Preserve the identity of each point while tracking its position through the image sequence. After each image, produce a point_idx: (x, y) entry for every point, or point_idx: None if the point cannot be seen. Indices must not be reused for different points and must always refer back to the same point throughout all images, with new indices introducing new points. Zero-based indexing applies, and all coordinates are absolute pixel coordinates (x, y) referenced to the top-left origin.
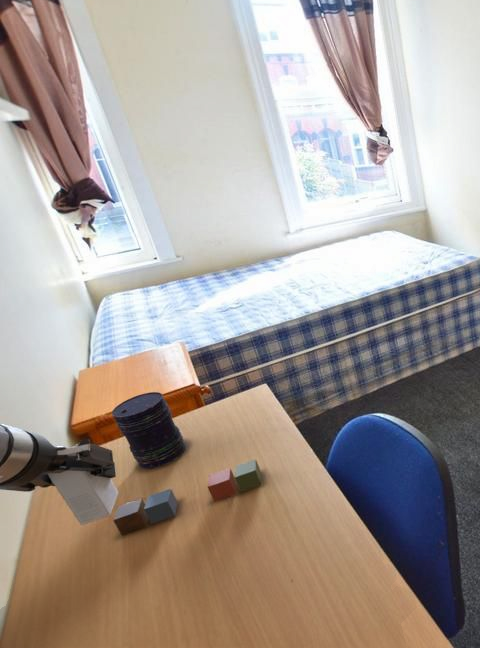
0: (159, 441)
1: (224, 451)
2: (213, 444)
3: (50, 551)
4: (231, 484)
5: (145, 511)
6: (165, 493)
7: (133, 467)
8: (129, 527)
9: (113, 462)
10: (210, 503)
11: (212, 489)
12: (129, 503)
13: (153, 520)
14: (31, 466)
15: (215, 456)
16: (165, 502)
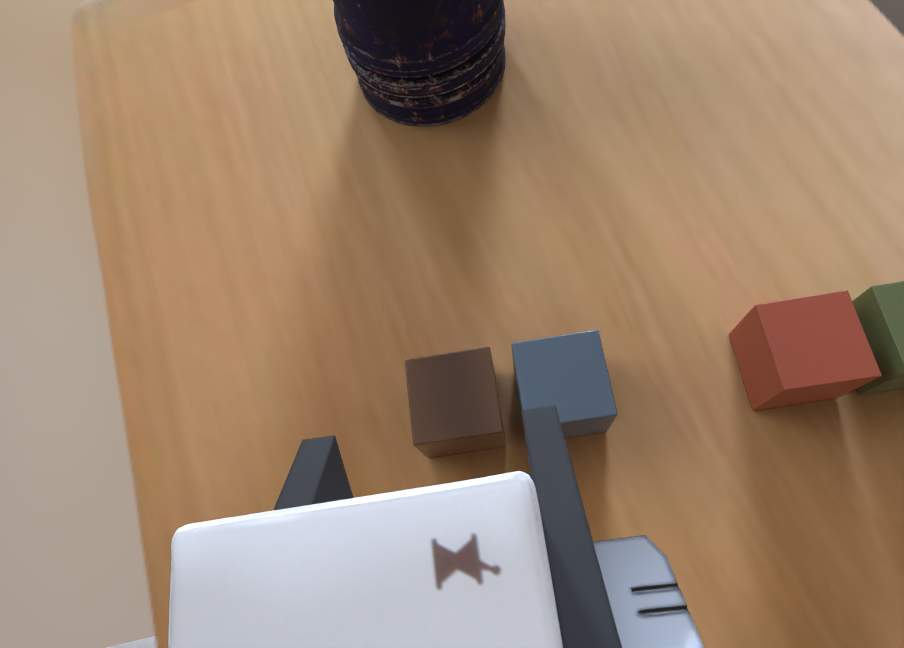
0: (458, 31)
1: (672, 115)
2: (608, 62)
3: (202, 434)
4: (865, 383)
5: None
6: (586, 355)
7: (346, 97)
8: (457, 449)
9: (557, 416)
10: (737, 414)
11: (791, 394)
12: (446, 360)
13: None
14: None
15: (645, 133)
16: (608, 417)
